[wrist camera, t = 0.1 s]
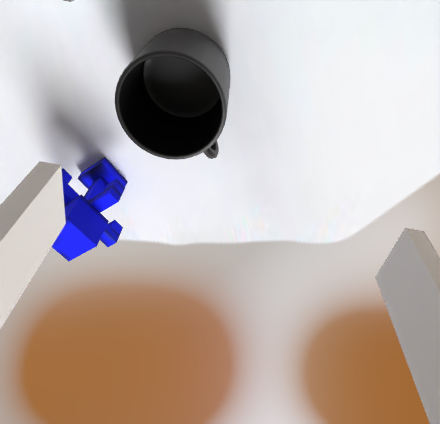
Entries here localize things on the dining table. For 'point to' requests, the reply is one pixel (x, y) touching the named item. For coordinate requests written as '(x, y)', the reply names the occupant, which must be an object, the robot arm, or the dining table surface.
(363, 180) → the dining table surface
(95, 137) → the dining table surface
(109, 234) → the figurine
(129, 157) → the dining table surface
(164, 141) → the mug
